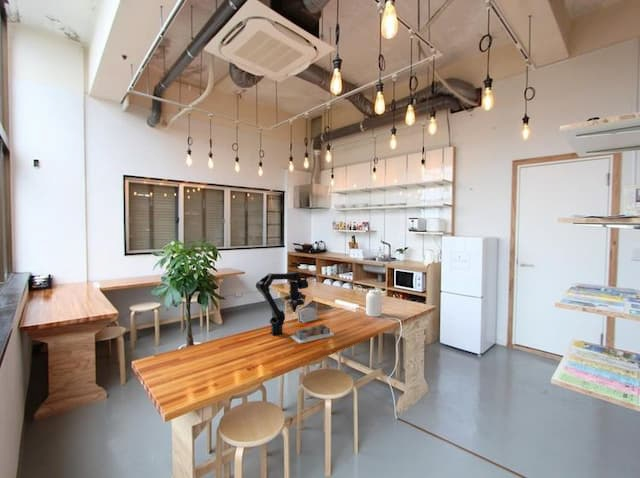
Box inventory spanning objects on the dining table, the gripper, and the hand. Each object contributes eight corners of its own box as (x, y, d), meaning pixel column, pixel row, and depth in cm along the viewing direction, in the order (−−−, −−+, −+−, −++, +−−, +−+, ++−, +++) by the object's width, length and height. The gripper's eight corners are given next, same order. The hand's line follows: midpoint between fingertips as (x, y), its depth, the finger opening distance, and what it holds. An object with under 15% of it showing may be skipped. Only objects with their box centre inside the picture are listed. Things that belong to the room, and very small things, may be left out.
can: (363, 313, 249) (363, 289, 248) (375, 311, 255) (376, 288, 254) (371, 317, 238) (372, 292, 237) (384, 315, 243) (385, 291, 242)
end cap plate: (299, 343, 186) (299, 336, 186) (290, 337, 196) (290, 330, 196) (334, 335, 200) (334, 328, 200) (324, 329, 210) (324, 323, 210)
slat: (301, 338, 192) (301, 330, 192) (299, 336, 195) (299, 329, 195) (325, 333, 201) (325, 325, 201) (323, 331, 204) (323, 324, 204)
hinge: (302, 323, 224) (299, 309, 226) (298, 323, 227) (295, 310, 229) (318, 318, 235) (316, 305, 237) (315, 319, 239) (312, 306, 241)
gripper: (310, 291, 206) (310, 313, 207) (298, 286, 222) (298, 307, 223) (296, 293, 201) (296, 316, 201) (284, 288, 217) (284, 309, 217)
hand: (294, 312), depth 211 cm, fingers closed
